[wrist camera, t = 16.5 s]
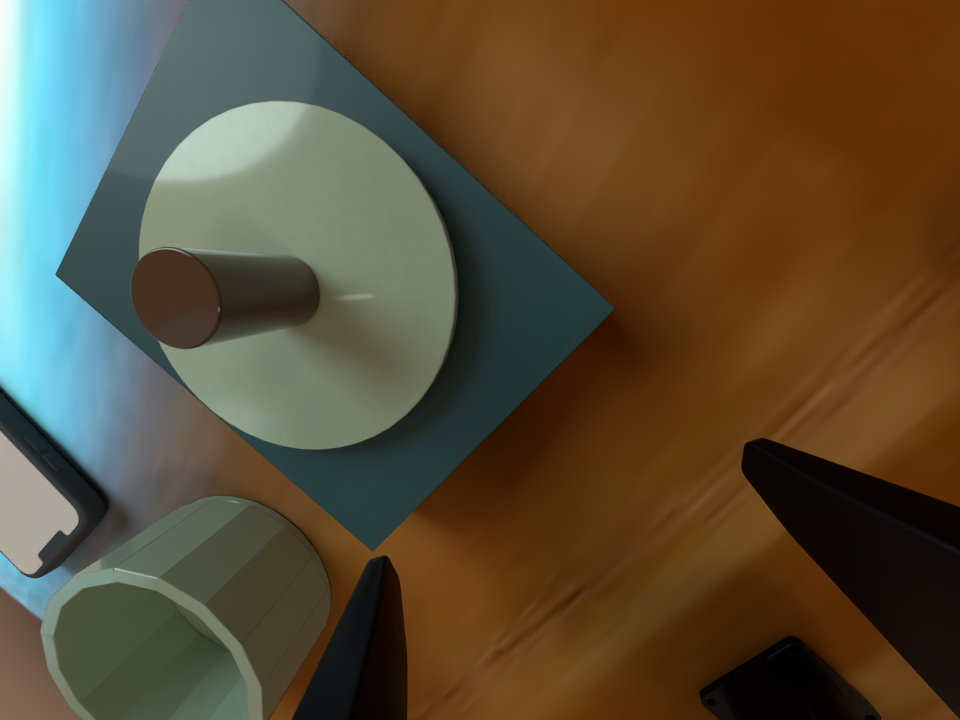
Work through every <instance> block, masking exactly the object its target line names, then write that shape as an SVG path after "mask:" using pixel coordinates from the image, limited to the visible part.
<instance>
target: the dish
mask: <svg viewBox="0 0 960 720" xmlns="http://www.w3.org/2000/svg"><path fill="white" fill-rule="evenodd" d="M330 607H331V590H330V585H329V580H328V576H327V573H326V570H325V567H324V565H323V563H322V561H321V559H320V557H319V555H318V554H317V552H316V551H315V549H314V547H313V546H312V545H311V543H310V542H309V541H308V540H307V538H306V537H305V536H304V535H303V534H302V533H301V532H300V531H299V530H298V529H297V528H296V527H295V526H294V525H293V524H292V523H291V522H289V521H288V520H287V519H286V518H284V517H283V516H281V515H280V514H278V513H277V512H275V511H274V510H272V509H270V508H268V507H266V506H264V505H262V504H259V503H256V502H254V501H251V500H247V499H243V498H240V497H232V496H212V497H205V498H202V499H198V500H195V501H193V502H191V503H189V504H187V505H183V506H181V507H179V508H178V509H176V510H175V511H173V512H172V513H170V514H168V515H167V516H165V517H164V518H162V519H161V520H159V521H158V522H156V523H155V524H153V525H151V526H150V527H148V528H147V529H145V530H144V531H142V532H141V533H139V534H137V535H136V536H134V537H133V538H131V539H130V540H128V541H127V542H125V543H124V544H122V545H120V546H119V547H117V548H116V549H114V550H113V551H111V552H110V553H108V554H107V555H105V556H103V557H102V558H100V559H99V560H97V561H96V562H94V563H93V564H91V565H90V566H88V567H86V568H85V569H83V570H82V571H80V572H79V573H77V574H76V575H74V576H73V577H72V578H71V579H70V580H69V581H68V582H66V583H65V584H64V585H63V586H62V587H61V588H60V589H59V590H58V591H57V592H55V593H54V594H53V595H52V596H51V597H50V598H49V600H48V604H47V607H46V611H45V615H44V619H43V623H42V627H41V636H42V641H43V646H44V651H45V656H46V662H47V666H48V670H49V672H50V674H51V675H52V677H53V679H54V680H55V682H56V684H57V686H58V688H59V689H60V691H61V693H62V694H63V696H64V698H65V700H66V701H67V703H68V705H69V706H70V707H71V708H72V709H73V710H74V711H75V713H77V715H78V716H79V717H81V719H82V720H270V719H271V717H272V715H273V714H274V712H275V710H276V709H277V707H278V705H279V704H280V702H281V700H282V699H283V697H284V695H285V694H286V692H287V691H288V689H289V687H290V686H291V684H292V682H293V681H294V679H295V677H296V676H297V674H298V672H299V671H300V669H301V667H302V666H303V664H304V663H305V661H306V659H307V658H308V656H309V654H310V653H311V651H312V649H313V648H314V646H315V644H316V642H317V640H318V638H319V637H320V635H321V633H322V632H323V630H324V628H325V626H326V623H327V621H328V618H329V614H330Z"/></svg>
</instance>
